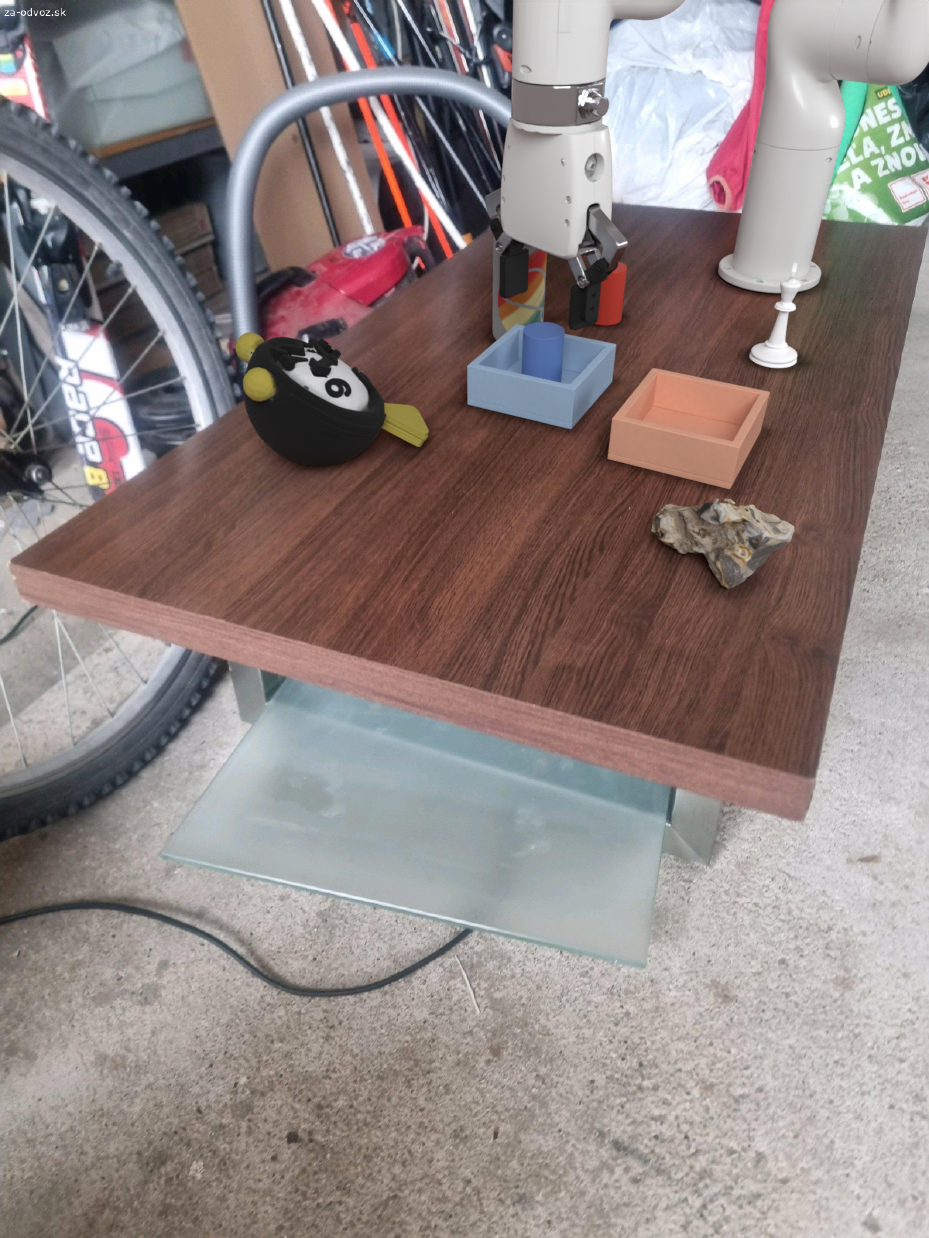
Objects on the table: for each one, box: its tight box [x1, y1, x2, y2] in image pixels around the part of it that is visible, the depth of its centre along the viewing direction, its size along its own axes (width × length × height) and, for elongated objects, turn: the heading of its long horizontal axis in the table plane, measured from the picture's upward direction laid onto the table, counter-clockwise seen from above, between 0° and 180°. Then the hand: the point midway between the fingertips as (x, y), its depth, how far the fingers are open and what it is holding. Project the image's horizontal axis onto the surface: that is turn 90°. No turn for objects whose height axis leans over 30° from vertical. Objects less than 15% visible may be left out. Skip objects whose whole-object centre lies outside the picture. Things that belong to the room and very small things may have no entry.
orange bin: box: [607, 367, 771, 490], centre depth 78 cm, size 11×11×4 cm
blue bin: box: [466, 324, 617, 430], centre depth 86 cm, size 11×11×4 cm
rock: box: [650, 497, 795, 590], centre depth 64 cm, size 9×7×10 cm
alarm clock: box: [235, 332, 430, 467], centre depth 75 cm, size 12×15×15 cm
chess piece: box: [748, 262, 801, 369], centre depth 89 cm, size 5×5×10 cm
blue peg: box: [521, 321, 566, 383], centre depth 85 cm, size 4×4×6 cm
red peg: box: [594, 261, 628, 326], centre depth 99 cm, size 4×4×6 cm
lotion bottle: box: [492, 145, 548, 341], centre depth 91 cm, size 6×6×20 cm
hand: (547, 309), depth 82 cm, fingers open, 9 cm apart
